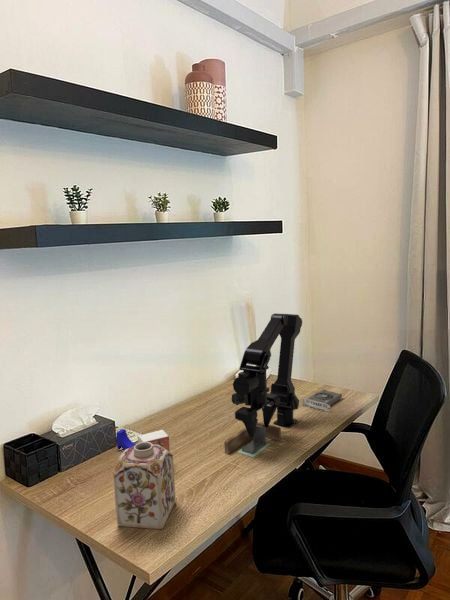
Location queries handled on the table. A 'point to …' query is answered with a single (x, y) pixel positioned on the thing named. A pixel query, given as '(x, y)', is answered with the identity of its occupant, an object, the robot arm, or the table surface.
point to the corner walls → (243, 437)
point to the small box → (156, 439)
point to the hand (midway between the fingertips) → (258, 432)
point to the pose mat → (254, 453)
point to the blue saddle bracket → (123, 440)
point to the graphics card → (321, 400)
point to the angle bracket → (256, 440)
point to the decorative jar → (144, 486)
